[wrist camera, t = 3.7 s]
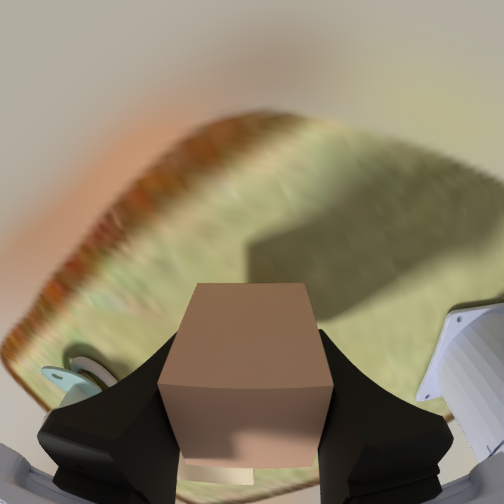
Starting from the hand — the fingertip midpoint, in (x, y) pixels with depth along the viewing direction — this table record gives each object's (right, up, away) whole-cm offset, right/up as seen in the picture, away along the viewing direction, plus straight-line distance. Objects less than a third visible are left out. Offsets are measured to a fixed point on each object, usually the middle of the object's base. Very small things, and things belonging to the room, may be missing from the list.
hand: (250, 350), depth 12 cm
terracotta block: (0, +1, +1) cm, 2 cm away
